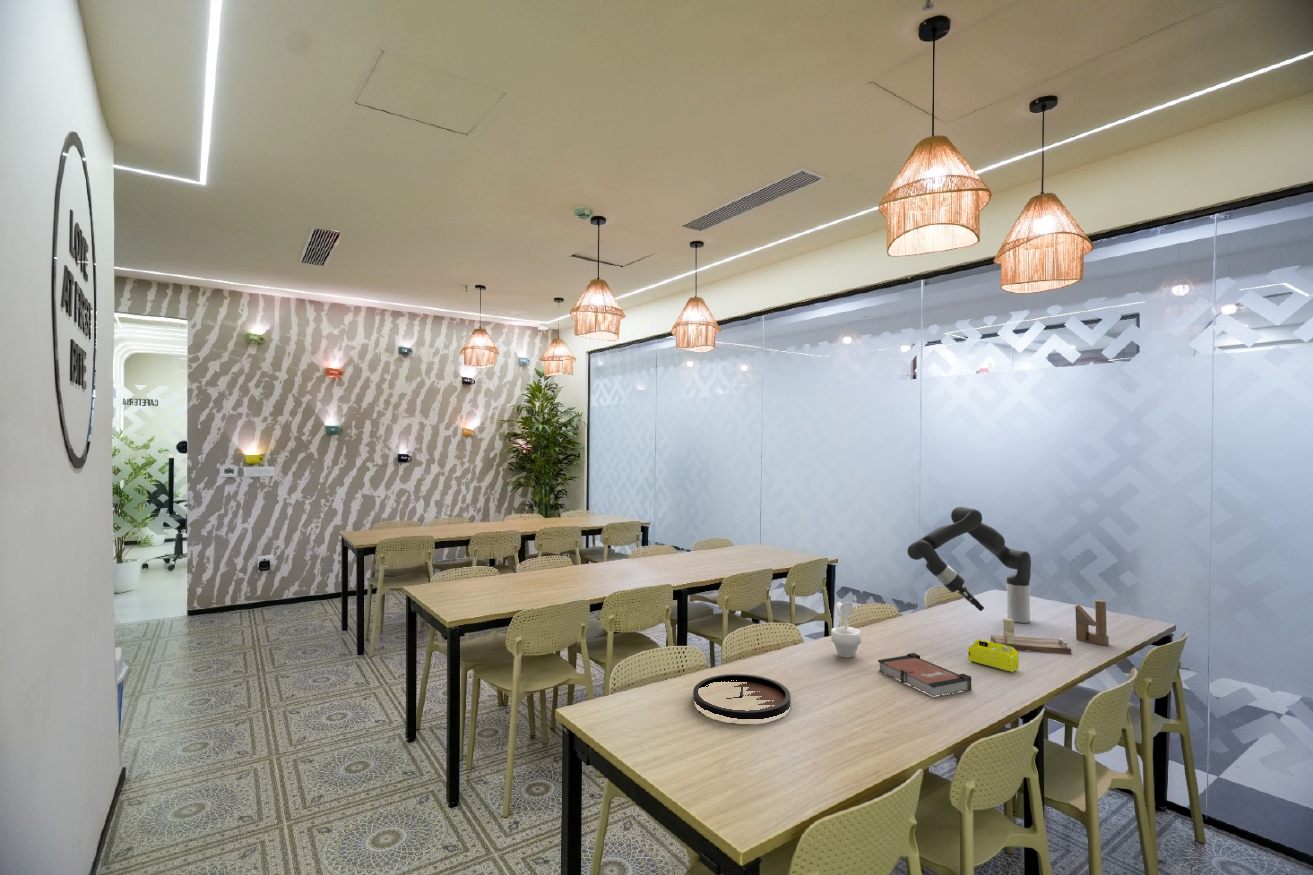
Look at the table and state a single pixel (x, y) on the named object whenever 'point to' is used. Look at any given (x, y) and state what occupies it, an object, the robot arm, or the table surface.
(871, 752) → the table surface
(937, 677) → the book
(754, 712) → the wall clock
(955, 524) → the robot arm
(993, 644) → the yellow toy chassis
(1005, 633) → the beige tall blocky piece
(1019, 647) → the walnut board
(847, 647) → the potted plant
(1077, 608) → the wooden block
